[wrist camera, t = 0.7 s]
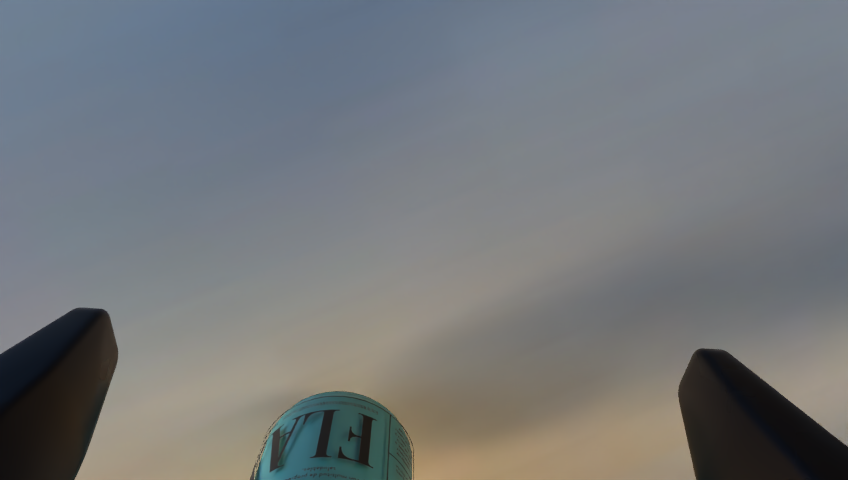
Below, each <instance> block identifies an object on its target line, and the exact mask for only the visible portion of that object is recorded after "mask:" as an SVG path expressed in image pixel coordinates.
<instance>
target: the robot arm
mask: <svg viewBox="0 0 848 480" xmlns="http://www.w3.org/2000/svg"><path fill="white" fill-rule="evenodd" d="M117 360H118V348H117V344H116V340H115V336H114V332H113V328H112V324H111V320H110V317H109V314H108V313H107V311H105V310H103V309H95V308H76V309H74V310H72V311H70V312H68V313H67V314H65V315H63V316H62V317H60V318H59V319H57V320H55V321H54V322H52V323H50V324H49V325H47V326H46V327H44V328H42V329H41V330H39V331H37V332H36V333H34V334H33V335H31V336H29V337H28V338H26V339H24V340H23V341H21V342H20V343H18V344H16V345H15V346H13V347H11V348H10V349H8V350H7V351H5V352H3V353H2V354H0V480H74V479H75V477H76V475H77V473H78V471H79V469H80V466H81V464H82V462H83V460H84V457H85V455H86V452H87V449H88V447H89V444H90V441H91V438H92V435H93V432H94V430H95V427H96V424H97V421H98V418H99V415H100V412H101V409H102V406H103V403H104V400H105V397H106V394H107V391H108V388H109V385H110V382H111V379H112V376H113V374H114V371H115V368H116V364H117ZM678 397H679V403H680V408H681V412H682V417H683V422H684V426H685V431H686V435H687V440H688V445H689V449H690V454H691V458H692V463H693V468H694V472H695V477H696V480H848V447H847V446H846V445H845V444H843V443H842V442H841V441H840V440H838V439H837V438H836V437H834V436H833V435H832V434H831V433H829V432H828V431H827V430H826V429H824V428H823V427H822V426H821V425H819V424H818V423H817V422H815V421H814V420H813V419H812V418H810V417H809V416H808V415H807V414H805V413H804V412H803V411H802V410H800V409H799V408H798V407H796V406H795V405H794V404H793V403H791V402H790V401H789V400H788V399H786V398H785V397H784V396H783V395H781V394H780V393H779V392H777V391H776V390H775V389H774V388H772V387H771V386H770V385H769V384H767V383H766V382H765V381H764V380H762V379H761V378H760V377H758V376H757V375H756V374H755V373H753V372H752V371H751V370H750V369H748V368H747V367H746V366H745V365H743V364H742V363H741V362H739V361H738V360H737V359H736V358H734V357H733V356H732V355H731V354H729V353H728V352H726V351H724V350H719V349H704V348H702V349H698V350H697V351H695V352H694V354H693V356H692V358H691V360H690V362H689V364H688V367H687V369H686V371H685V373H684V375H683V378H682V380H681V382H680V385H679V390H678Z"/></svg>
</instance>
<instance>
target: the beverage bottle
mask: <svg viewBox="0 0 848 480" xmlns="http://www.w3.org/2000/svg"><path fill="white" fill-rule="evenodd" d="M283 414H284V413H283ZM283 414H282V415H283ZM282 415H281V416H282ZM281 416H280V417H281ZM274 423H275V422H274ZM274 423H273V424H274ZM273 424H272V425H273ZM402 427H403V426H402V425H401V424H400V423H399V421H398V420H397V418H396V417H395V416H394V415H393V414H392V413H391V412H390V411H389V410H388V409H387V408H386V407H384V406H383V405H381V404H380V403H378V402H376V401H374V400H373V399H371V398H368V397H366V396H363V395H360V394H356V393H351V392H338V391H335V392H326V393H321V394H317V395H314V396H311V397H308V398H306V399H304V400H302V401H300V402H299V403H297V404H295V405H294V406H293V407H291V408H290V409H289V410H287V411H286V412H285V414H284V415H283V416H282V417H281V419H280V420H279V421H278V422H277V423H276V425H275V426H274V428H272V430H270V432H271V433H270V435H269V437H268V439H267V440H266V442H267V443H266V442H265V443H264V444H266V446H265V445H264V446H265V449H264V452H263V455H262V458H261V461H260V455H261V454H260V455H259V458H258V459H259V461H260V463H259V467H258V470H257V471H256V472H257V473H256V476H255V479H254V470H255V467H256V466H254V469H253V472H252V475H251V478H250V480H412V454H411V453H412V451H411V448H410V443H409V441H408V438H407V436H406V434H405V432H404V430H405V429H404V430H403V428H404V427H403V428H402ZM270 428H271V427H270ZM270 428H269V429H270ZM405 431H406V430H405ZM267 432H268V431H267ZM406 433H407V432H406ZM266 434H267V433H266ZM407 434H408V433H407ZM265 436H266V435H265ZM408 436H409V435H408ZM266 437H267V436H266ZM264 438H265V437H264ZM409 438H410V437H409ZM265 439H266V438H265ZM410 440H411V439H410ZM263 442H264V441H263ZM411 443H412V442H411ZM412 446H413V445H412ZM263 448H264V447H263ZM262 451H263V449H262ZM262 451H261V453H262ZM257 462H258V460H257ZM256 464H257V465H258V463H255V465H256ZM256 469H257V467H256ZM413 469H414V449H413Z"/></svg>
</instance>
